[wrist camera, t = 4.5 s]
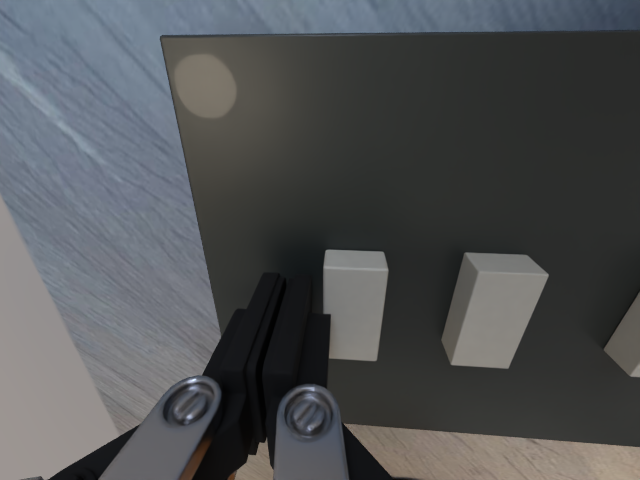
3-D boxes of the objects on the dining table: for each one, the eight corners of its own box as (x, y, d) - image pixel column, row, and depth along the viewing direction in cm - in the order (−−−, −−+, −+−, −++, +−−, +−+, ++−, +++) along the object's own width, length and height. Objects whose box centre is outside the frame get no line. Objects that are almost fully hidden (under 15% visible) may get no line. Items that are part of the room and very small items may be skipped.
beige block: (325, 248, 10) (323, 267, 9) (384, 250, 10) (389, 269, 9) (324, 334, 12) (322, 358, 11) (374, 337, 12) (377, 362, 10)
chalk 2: (464, 251, 10) (478, 271, 8) (527, 254, 9) (549, 274, 8) (440, 340, 11) (450, 365, 10) (493, 343, 11) (508, 369, 10)
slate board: (200, 47, 10) (158, 34, 7) (1296, 40, 8) (1686, 18, 5) (251, 373, 17) (237, 415, 15) (819, 412, 15) (903, 469, 13)
